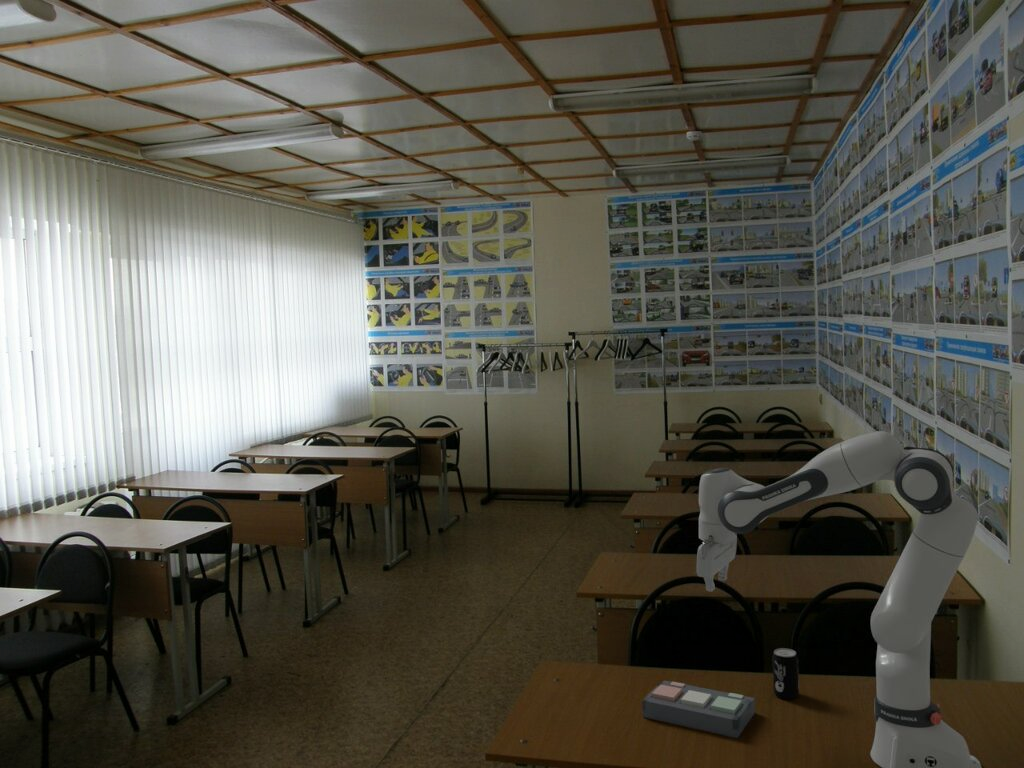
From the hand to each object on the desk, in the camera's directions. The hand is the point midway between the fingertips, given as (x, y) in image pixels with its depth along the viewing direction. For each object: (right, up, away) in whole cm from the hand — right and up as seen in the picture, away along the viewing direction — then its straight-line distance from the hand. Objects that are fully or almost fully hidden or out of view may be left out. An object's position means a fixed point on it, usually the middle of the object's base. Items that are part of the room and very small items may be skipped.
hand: (716, 585), depth 208 cm
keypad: (-3, -35, +6) cm, 36 cm away
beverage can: (+23, -34, +15) cm, 44 cm away
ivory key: (-4, -32, +5) cm, 33 cm away
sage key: (+3, -32, +1) cm, 32 cm away
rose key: (-11, -32, +9) cm, 35 cm away
